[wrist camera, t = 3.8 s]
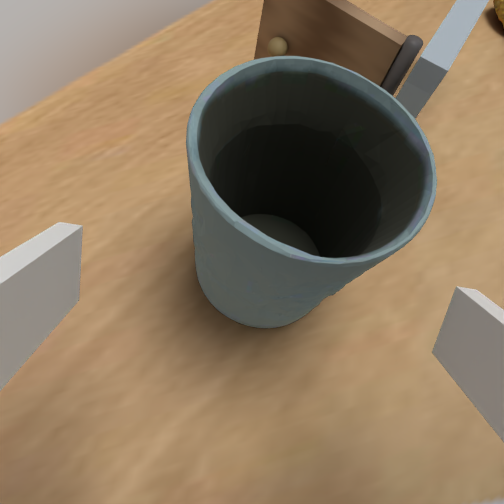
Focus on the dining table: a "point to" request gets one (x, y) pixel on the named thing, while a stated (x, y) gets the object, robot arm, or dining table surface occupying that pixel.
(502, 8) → the rock
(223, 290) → the teal cup
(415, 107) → the grey rectangular arch
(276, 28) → the door
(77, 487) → the dining table surface
